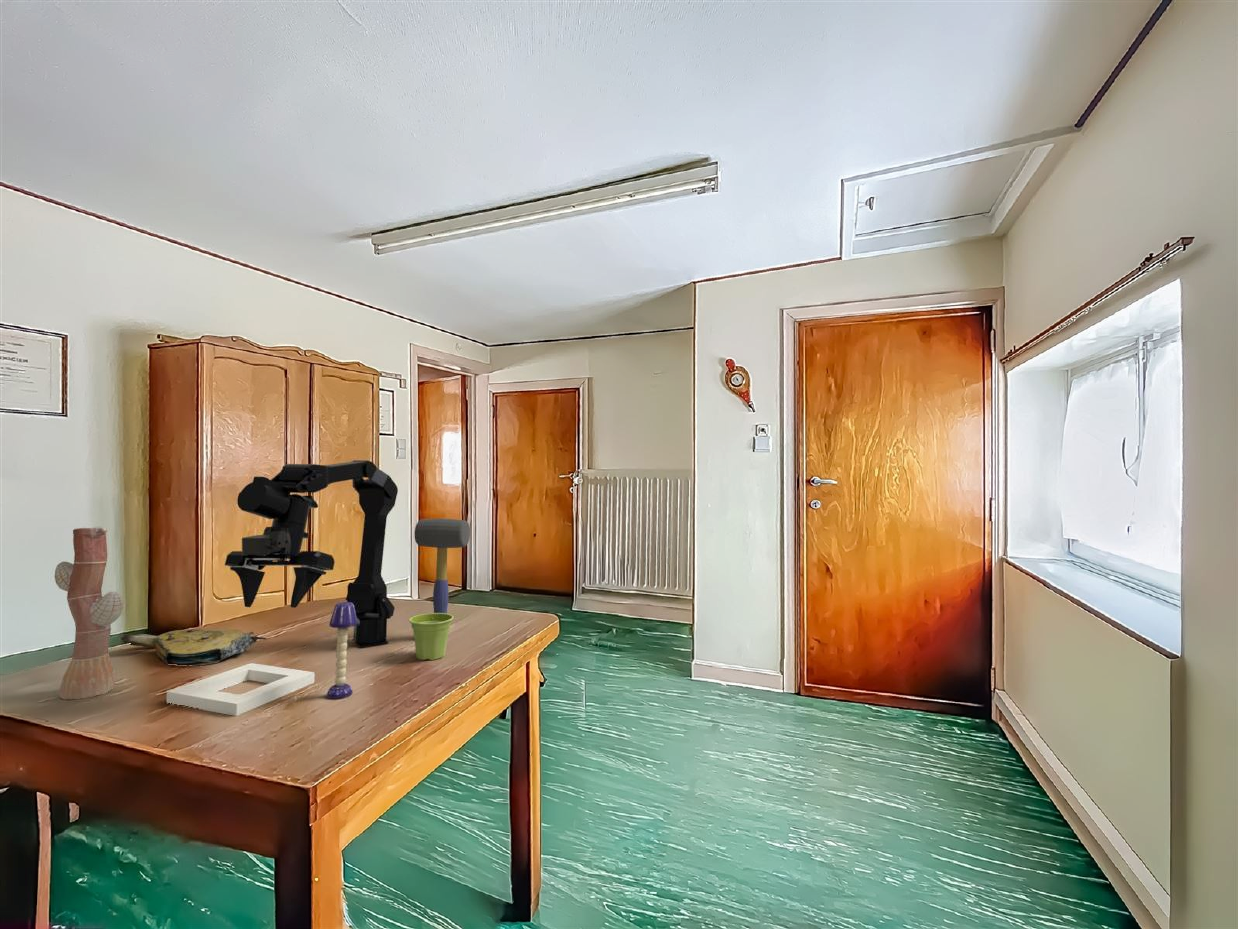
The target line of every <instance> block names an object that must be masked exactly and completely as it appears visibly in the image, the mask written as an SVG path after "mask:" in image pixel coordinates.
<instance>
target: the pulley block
mask: <svg viewBox="0 0 1238 929" xmlns="http://www.w3.org/2000/svg"><path fill="white" fill-rule="evenodd" d="M251 635H254V632H253V631H250V632H247V633H245V631H243V630H241V629H235V628H233V629H232V628H209V629H208V628H207V629H206V628H205V629H204V628H203V629H200V628H199V629H198V628H197V629H196V628H195V629H193V628H192V629H177V630H171V631H168V632H164V633H162V634H160V635H152V634H147V633H145V634H144V633H137V634H128V635H127V634H125V635H123V636H119V638H120V640H121V641H122V642H124V643H128V644H129V643H131V644H130V645H129V646H134V647H135V646H136V647H143V648H156V649H155V652H156V656H158V657H159V658H160V659H161V660H162V661H163V662H164V663H165V664H166V665H167V664H177V665H187V666H189V665H200V666H206V664H207V665H211V664H219V663H220V661H223V660H224V659H226V658H230V657H231V656H233V655H237V654H241V653H242V654H243V653H244V652H245V651H246V650H247V649H248V648H249V647H250V646H252V645H253V644H254V643H256V642H257V641H258V640H267V638H266V637H262V636H261V637H260V636H257V635H255V636H251Z"/></svg>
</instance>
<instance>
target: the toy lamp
mask: <svg viewBox="0 0 1238 929" xmlns="http://www.w3.org/2000/svg"><path fill="white" fill-rule="evenodd" d="M356 624H357V617H356V613H355V608H354V605H353V603H351V602H347V601H343V602H337V603H336V604H335V605H334V608H333V611H332V614H331V617H330V621H329V627H331V628H334V629H336V630H337V636H336V637H337V638H336V641H337V644H336V653H335V657H336V661H335V672H334V673H335V679H334V683H335V684H334V685H332V686H330V687H329V689H328V691H327V692H326V698H327V699H331V700H332V699H333V700H337V699H343V698H347V697H350V696H351V695H352V694H353V688H352V687H351V685H349V684H348V683H346V681H347V678H346V674H347V668H346V666H347V664H348V663H347V662H348V661H347V659H346V658H347V657H348V652H347V649H348V643H347V642H348V638H349V637H348V633H349V628H351V627H354V626H355V625H356Z"/></svg>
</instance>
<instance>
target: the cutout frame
mask: <svg viewBox="0 0 1238 929" xmlns="http://www.w3.org/2000/svg"><path fill="white" fill-rule="evenodd" d="M243 681H244V682H247V681H254V682H259V683H260V682H261V683H265V685H261V686H259V687H256V688H253V689H252V690H249V691H247V692H243V693H242V694H237V693H231V692H225V691H224V692H223V691H222V690H225V689H228V688H230V687H233V686H235V685H238V684H241V683H244V682H243ZM312 684H315V672H314V671H307V670H300V669H296V668H295V669H293V668H288V667H280V666H275V665H274V666H273V665H267V664H259V663H251V662H250V663H247V664H245V665H242V666H239V667H236V668H233V669H230V670H226V671H224V672H220V673H217V674H216V675H212V676H209V677H206V678H203V679H200V680H197V681H194V682H191V683H188V684H185V685H182V686H179V687H177V688H174V689H171V690H167V691H166V702H167V703H166V704H168V703H170V704H169V705H174V704H177V705H176V706H179V705H185V706H189V707H188V708H190V707H193V708H192V709H196V708H199V709H198V710H201V709H202V710H201V711H208V712H212V713H219V714H224V715H229V716H235V717H237V716H240V715H243V714H244V713H246V712H249V711H251V710H253V709H256V708H258V707H261V706H264V705H266V704H267V703H268V704H269V703H271V702H273V701H275V700H277V699H280V698H282V697H284V696H287V695H289V694H291V693H293V692H296V691H298V690H300V689H302V688H305V687H308V686H310V685H312ZM224 688H225V689H224ZM171 703H172V704H171ZM185 706H184V707H185Z"/></svg>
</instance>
